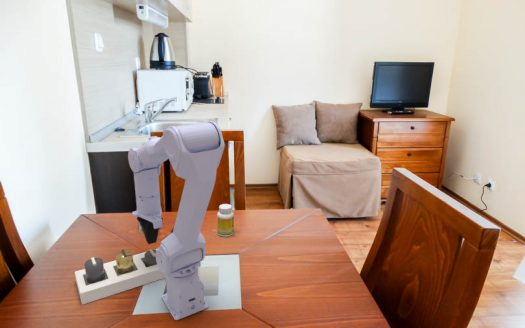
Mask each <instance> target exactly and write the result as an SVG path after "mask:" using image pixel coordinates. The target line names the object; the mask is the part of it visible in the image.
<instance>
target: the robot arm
mask: <svg viewBox="0 0 525 328" xmlns="http://www.w3.org/2000/svg"><path fill="white" fill-rule="evenodd" d="M225 146H226V144H225V141H224V137H223V133H222V130H221V128H220V126H219V125H218V124H217V123H216V122H215V121H212V120H210V121H207V122H203V123H194V124H184V125H183V124H182V125H177V126H174V125H169V126H167V127H166V128H164V129H163V132H162V136H161V137H159V136H157V135H154V136H149V137H148V141H146V142H142V144H141V146H140V147H130V148H129V150H128V154H127V160H128V164H129V168H130V169H131V171H132V172H133V181H134V191H135V203H136V210H135V211H132V212H131V213H132V217H134V218H136V220H137V222H138V221H139V223H140V225H141V227H142V229H143V232H144V233H143V235H144V238H145V240H146V243H147V244H148V245H151V244H155V243H157V241H158V235H159V231H160V228H163V227H164V225H163V222H164V218H163V216H162V214H163V213H162V211H163V210H162V206H161V195H160V179H159V176H160V175H161V168H162V165H163V163H164V162H166V161H168V160H169V162H170V164H171V167H172V169H173V172H174V173H175V175H176V177H179V178H181V179H183V180H184V185H183V189H182V194H181V197H180V202H179V206H178V210H177V213H176V214H177V215H176V219H175V222H174V227H173V228H174V230H173V232H172V233H171V232H170V234H168V236H166V237H165V238H163V239H162V240H161V241H160V245H159V246H158V247H157V248H156V249H157V251H156V262H157V265H158V267H159V269H160V271H161V272H162V273H164V274H165V275H166V278H165V285H166V286H165V287H166V293H164V294H161V299H162V301H163V302H164V305H165V306H166V308H167V309H168V311H169V313H170V315H171V316H172V317H173V320H174V321H179V320H181V319H184V318H187V317H188V316H191V315H193V314H196V313H199V312H200V311H204V310H206V309H208V308H209V305H208V303H207V302H206V300H205V285H204V284H203V282H202V280H201V279H200V276H199V268H200V267H201V264H202V263H201V262H202V261H205V260H204V259H205V258H206V254H207V253H206V246H207V242H206V239H205V237H204V235H203V233H202V232H201V228H202V226H203V223H204V219H205V217H206V212H207V210H208V206H209V204H210V200H211V197H212V193H213V191H214V188H215V184H216V180H217V171H218V170H217V169H218V168H219V165H220V163H221V159H222V156H223V154H224V150H225Z"/></svg>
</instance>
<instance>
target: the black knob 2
mask: <svg viewBox="0 0 525 328" xmlns="http://www.w3.org/2000/svg"><path fill="white" fill-rule="evenodd" d="M156 251H157V250H155V249H152V248H151V249H149V250H147V251H145V252H146V253H145V266H146V267H150V266H153V265H156V264H157V262H156Z"/></svg>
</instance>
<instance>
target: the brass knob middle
mask: <svg viewBox="0 0 525 328" xmlns="http://www.w3.org/2000/svg"><path fill="white" fill-rule="evenodd" d="M114 256H115V260H116V265H117V272H118V273H119V274H120V275H123V274H126V273H130V272H133V270H134V263H133V251H132V250H130V249H124V248H123V249H121V250H120V251H118V252H116V253H115V255H114Z"/></svg>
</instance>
